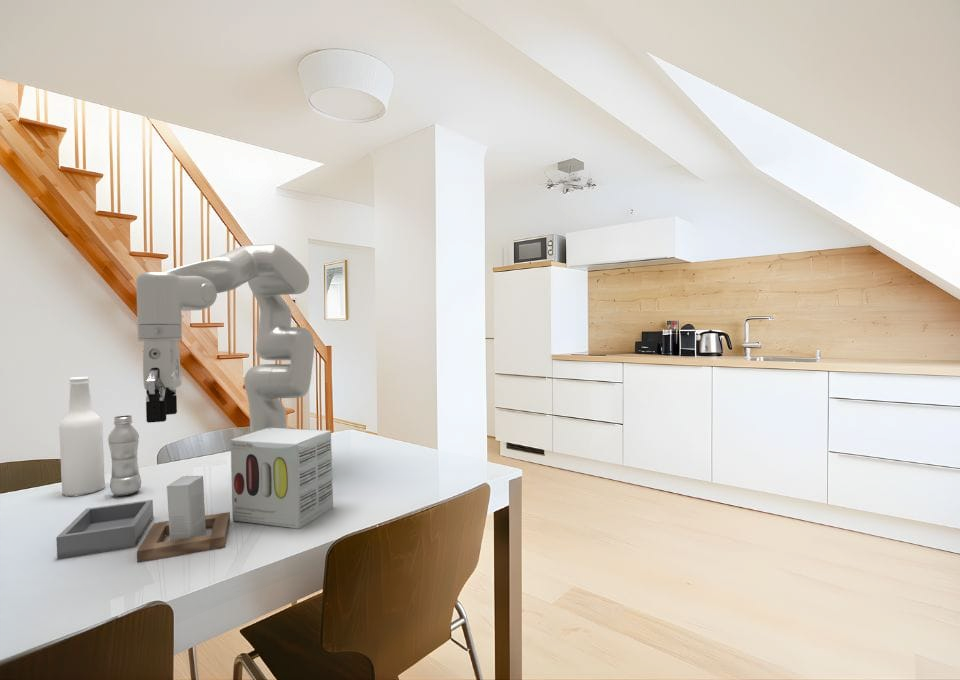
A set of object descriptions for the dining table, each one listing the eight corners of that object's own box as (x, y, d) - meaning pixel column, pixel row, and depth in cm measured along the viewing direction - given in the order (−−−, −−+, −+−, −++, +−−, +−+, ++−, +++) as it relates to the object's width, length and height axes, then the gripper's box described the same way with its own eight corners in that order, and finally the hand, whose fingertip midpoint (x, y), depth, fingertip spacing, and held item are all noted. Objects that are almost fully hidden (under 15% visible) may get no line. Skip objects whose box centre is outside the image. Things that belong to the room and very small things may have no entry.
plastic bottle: (125, 499, 122) (122, 419, 122) (103, 497, 124) (100, 418, 123) (148, 490, 129) (145, 414, 128) (126, 489, 130) (123, 414, 130)
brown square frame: (230, 521, 107) (229, 511, 107) (224, 547, 94) (224, 536, 94) (154, 532, 102) (153, 523, 101) (137, 562, 89) (136, 551, 89)
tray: (153, 517, 110) (152, 499, 110) (135, 546, 95) (134, 525, 95) (87, 527, 105) (86, 508, 105) (57, 559, 91) (56, 537, 90)
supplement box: (230, 522, 106) (227, 439, 106) (271, 501, 119) (269, 426, 119) (299, 530, 102) (297, 443, 101) (335, 506, 114) (332, 429, 114)
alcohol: (81, 485, 134) (77, 375, 133) (113, 485, 134) (108, 375, 133) (52, 497, 125) (47, 379, 124) (86, 496, 125) (81, 378, 124)
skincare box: (184, 534, 101) (182, 475, 100) (206, 532, 101) (204, 475, 101) (168, 547, 95) (165, 485, 94) (191, 546, 95) (189, 484, 95)
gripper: (172, 333, 93) (174, 423, 94) (189, 333, 109) (191, 410, 110) (125, 334, 91) (127, 426, 91) (149, 334, 107) (151, 413, 107)
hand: (162, 417), depth 100 cm, fingers open, 9 cm apart
